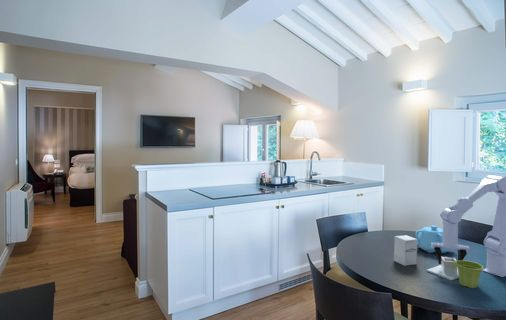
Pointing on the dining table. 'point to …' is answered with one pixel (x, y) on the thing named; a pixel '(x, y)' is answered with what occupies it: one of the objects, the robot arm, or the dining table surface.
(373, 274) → the dining table surface
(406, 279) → the dining table surface
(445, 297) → the dining table surface
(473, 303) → the dining table surface
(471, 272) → the plant pot
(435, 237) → the decorative pot
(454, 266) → the white boxy piece
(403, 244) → the supplement box
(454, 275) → the duct plate
